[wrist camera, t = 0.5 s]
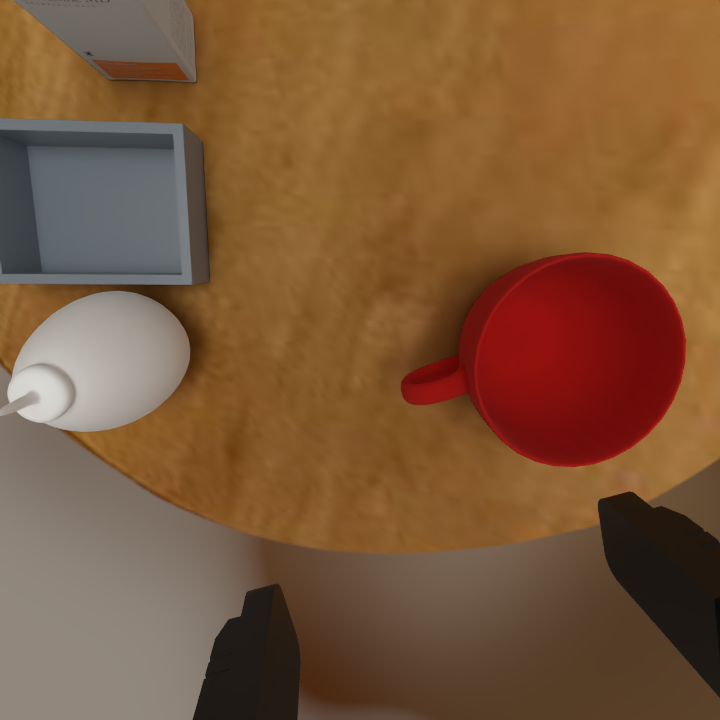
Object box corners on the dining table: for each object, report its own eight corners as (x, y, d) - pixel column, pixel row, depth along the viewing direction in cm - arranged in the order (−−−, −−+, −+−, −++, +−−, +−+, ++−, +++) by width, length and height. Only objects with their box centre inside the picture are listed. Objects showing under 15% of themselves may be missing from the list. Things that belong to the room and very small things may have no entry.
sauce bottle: (157, 411, 38) (13, 543, 20) (75, 339, 36) (-157, 415, 19) (228, 340, 37) (142, 414, 20) (147, 264, 36) (-24, 270, 18)
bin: (21, 137, 33) (-30, 117, 29) (202, 142, 34) (182, 123, 29) (38, 280, 35) (-7, 283, 30) (209, 281, 36) (192, 284, 31)
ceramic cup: (370, 286, 37) (386, 297, 27) (586, 236, 38) (679, 229, 28) (404, 444, 40) (430, 505, 30) (605, 396, 40) (695, 440, 31)
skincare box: (108, 82, 33) (-10, -13, 21) (101, 11, 32) (-25, -129, 21) (200, 85, 34) (134, -7, 22) (196, 15, 33) (126, -120, 21)
